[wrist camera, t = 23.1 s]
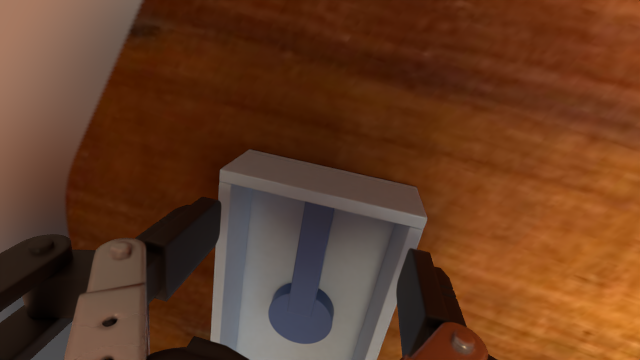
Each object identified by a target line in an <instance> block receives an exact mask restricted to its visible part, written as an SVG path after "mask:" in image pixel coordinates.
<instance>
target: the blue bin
mask: <svg viewBox="0 0 640 360" xmlns="http://www.w3.org/2000/svg"><path fill="white" fill-rule="evenodd" d="M219 180H220V182H219V196H218V201H220V202H221V223H220V235H219V239H218V241H217V243H216V250H215V268H214V286H213V304H212V322H211V340H210V341H212V342H216V343H219V344H223V345H226V346H228V347H230V348H231V349H233V350H235V351H236V352H238V353H240V354H241V355H243V356H244V357H246V358H248V359H249V360H377V357H378V354H379V351H380V349H381V346H382V343H383V340H384V337H385V335H386V332H387V329H388V326H389V324H390V321H391V318H392V315H393V313H394V310H395V307H396V304H397V297H396V288H397V282H398V278H399V275H400V272H401V269H402V266H403V264H404V261H405V258H406V255H407V252H408V250H409V249H410V248H413V249H417V246H418V243H419V241H420V238H421V235H422V232H423V229H424V227H425V224H426V221H427V216H426V213H425V210H424V207H423V204H422V202H421V199H420V196H419V193H418V190H417V187H414V186H410V185H405V184H401V183H396V182H392V181H388V180H383V179H379V178H374V177H370V176H365V175H361V174H357V173H352V172H348V171H343V170H339V169H335V168H330V167H326V166H321V165H317V164H313V163H308V162H304V161H299V160H295V159H290V158H286V157H282V156H277V155H273V154H268V153H264V152H260V151H255V150H251V149H249V150H248V151H246V152H245V153H243V154H242V155H241V156H239V157H238V158H236V159H235V160H233V161H232V162H230V163H229V164H227V165H226V166H224V167H223V168H221V169H220V178H219ZM305 201H306V202H310V203H314V204H318V205H323V206H327V207H331V208H335V212H334V217H333V222H332V226H331V231H330V236H329V240H328V245H327V250H326V255H325V259H324V264H323V269H322V273H321V278H320V283H319V289H321V290H322V291H323V292H325V293H326V294H327V296H328V297H329V298H330V300H331V302H332V304H333V307H334V316H333V323H332V328H331V331H330V333H329V334H328V335H327V337H325V338H324V339H323V340H321V341H319V342H316V343H312V344H299V343H295V342H292V341H289V340H287V339H285V338H284V337H282V336H281V335H279V334H278V333H277V332H276V331H275V330H274V328H273V327H272V325H271V323H270V321H269V317H268V310H269V306H270V304H271V302H272V299H273V297H274V295H275V293H276V292H277V291H278V289H280V288H281V287H282V286H284V285H286V284H289V283H292V277H293V271H294V265H295V259H296V253H297V247H298V241H299V235H300V229H301V224H302V218H303V212H304V206H305Z"/></svg>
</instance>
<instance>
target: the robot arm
mask: <svg viewBox="0 0 640 360" xmlns="http://www.w3.org/2000/svg"><path fill="white" fill-rule="evenodd" d="M220 223H221V202H220V201H218V200H214V199H210V198H206V197H201V198H200V199H198V200H197V201H196V202H194V203H193V204H192V205H185V206H182V207H180V208H177V209H175V210H173V211H172V212H170V213H169V214H168V215H167V216H166V217H164V218H162V219H161V220H159V222H157V223H155V224H154V225H153V226H151V227H150V228H148V229H147V230H146V231H144V232H143V233H142V234H140V235H139V236H137V237H136V238H135V239H134V238H121V239H116V240H112V241H109V242H107V243H105V244H103V245H102V246H100V247H99V248H98V249H97V250H72V246H71V241H70V239H69V238H68V237H66V236H63V235H56V234H50V235H42V236H37V237H33V238H30V239H27V240H25V241H23V242H20V243H19V244H17V245H15V246H13V247H11V248H9V249H8V250H6V251H4V252H2V253H1V254H0V312H1V311H2V310H3V309H5V308H6V307H8V306H9V305H11V304H12V303H13V302H15V301H16V300H18V299H19V298H21V297H23V301H24V306H22V307H21V308H20V309H18V310H17V311H16V312H14V313H13V314H12V315H11V316H9V317H8V318H6V319H5V320H3V321H2V322H1V323H0V360H30V359H31V358H33V357H34V356H35V355H36V354H37V353H38V352H39V351H40V350H41V349H42V348H43V347H45V346H46V345H47V344H48V343H49V342H50V341H51V340H52V339H53V338H54V337H55V336H56V335H58V334H59V333H60V332H61V331H62V330H63V329H64V328H65V327H66V326H67V325H68V324H69V323H71V322H72V321H73V323H72V327H71V331H70V336H69V340H68V344H67V348H66V352H65V357H64V360H249V359H248V358H246V357H244V356H243V355H241V354H240V353H238V352H236V351H235V350H233V349H231V348H230V347H228V346H226V345H223V344H219V343H216V342H212V341H209V340H205V339H202V338H199V337H195V336H194V337H193V338H192V340H191V341H190V343H189V344H188V346H187V347H181V348H171V349H166V350H162V351H159V352H155V353H152V354H150V339H149V303H150V302H151V301H152V300H153V299H154V298H156V299H160V300H163V301H167V300H168V299H169V298H170V297H171V296H172V295H173V293H174V292H175V291H176V290H177V289H178V288H179V287H180V285H181V284H182V283H183V282H184V281H185V280H186V279H187V277H188V276H189V275H190V274H191V273H192V272H193V271H194V269H195V268H196V267H197V266H198V265H199V264H200V263H201V261H202V260H203V259H204V258H205V257H206V256H207V255H208V253H209V252H210V251H211V250H212V249H213V248H214V246H215V245H216V243H217V241H218V239H219V235H220ZM396 297H397V307H398V317H399V326H400V336H401V346H402V356H403V357H402V358H401V359H400V360H497V359H495V358H494V357H492V356H490V355H489V354H488V351H487V348H486V346H485V344H484V342H483V341H482V340H481V338H480V337H479V336H478V335H477V334H476V333H474V332H473V331H472V330H470V329H469V328H467V326H466V323H465V321H464V318H463V315H462V312H461V309H460V307H459V304H458V301H457V299H456V295H455V293H454V290H453V287H452V284H451V282H450V279H449V277H448V276H447V275H446V274H445V273H444V271H443V270H442V269H441V268H438V267H434V265H433V262H432V258H431V255H430V253H429V252H425V251H421V250H417V249H413V248H410V249H409V250H408V252H407V255H406V258H405V261H404V264H403V266H402V269H401V272H400V275H399V278H398V282H397V288H396Z"/></svg>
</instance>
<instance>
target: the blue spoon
mask: <svg viewBox="0 0 640 360" xmlns="http://www.w3.org/2000/svg"><path fill="white" fill-rule="evenodd" d="M334 212H335V208H331V207H327V206H323V205H318V204H314V203H310V202H306V201H305V206H304V212H303V218H302V224H301V229H300V235H299V241H298V247H297V253H296V259H295V265H294V271H293V277H292V283H289V284H286V285H284V286H282V287H281V288H280V289H278V291H277V292H276V293H275V295H274V297H273V299H272V302H271V304H270V306H269V310H268V317H269V321H270V323H271V325H272V327H273V328H274V330H275V331H276V332H277V333H278V334H279V335H281V336H282V337H284V338H285V339H287V340H289V341H292V342H295V343H299V344H312V343H316V342H319V341H321V340H323V339H324V338H325V337H327V335H328V334H329V333H330V331H331V328H332V323H333V316H334V307H333V304H332V302H331V300H330V298H329V297H328V296H327V294H326V293H325V292H323V291H322V290H321V289H319V283H320V278H321V273H322V269H323V264H324V259H325V255H326V250H327V245H328V240H329V236H330V231H331V226H332V222H333V217H334Z"/></svg>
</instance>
